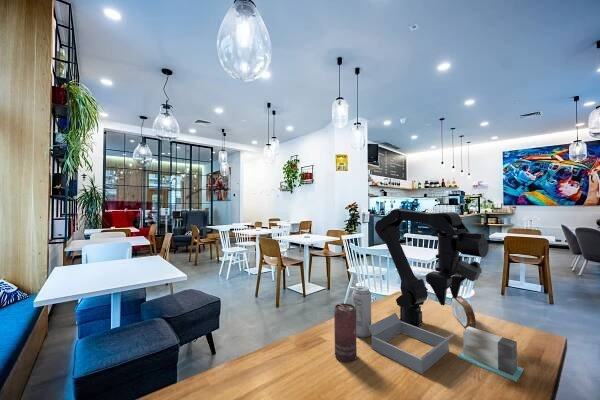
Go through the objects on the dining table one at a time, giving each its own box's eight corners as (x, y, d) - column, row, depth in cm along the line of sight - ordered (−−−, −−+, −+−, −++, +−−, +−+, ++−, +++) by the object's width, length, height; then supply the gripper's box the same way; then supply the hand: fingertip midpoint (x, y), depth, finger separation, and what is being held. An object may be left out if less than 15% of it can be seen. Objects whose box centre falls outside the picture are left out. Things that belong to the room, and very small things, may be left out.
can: (342, 347, 79) (341, 300, 80) (360, 356, 75) (360, 306, 75) (329, 355, 75) (329, 306, 75) (348, 365, 71) (347, 313, 71)
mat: (457, 357, 74) (457, 356, 74) (467, 348, 78) (467, 347, 78) (516, 381, 64) (516, 380, 64) (523, 370, 68) (523, 368, 68)
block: (463, 355, 74) (463, 330, 74) (468, 350, 77) (468, 326, 77) (512, 375, 65) (512, 347, 66) (517, 368, 68) (516, 341, 68)
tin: (476, 333, 87) (476, 307, 87) (466, 332, 88) (465, 307, 88) (459, 314, 102) (458, 292, 102) (450, 313, 103) (449, 292, 103)
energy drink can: (374, 336, 86) (374, 290, 86) (357, 339, 84) (357, 292, 84) (366, 328, 91) (365, 284, 92) (349, 330, 90) (349, 286, 90)
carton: (366, 346, 80) (366, 326, 80) (395, 329, 90) (395, 312, 90) (428, 377, 66) (428, 353, 66) (455, 353, 76) (455, 332, 76)
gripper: (465, 260, 72) (466, 318, 71) (488, 251, 83) (488, 301, 83) (424, 254, 80) (425, 306, 80) (450, 247, 92) (450, 292, 92)
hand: (449, 301), depth 84 cm, fingers open, 9 cm apart
